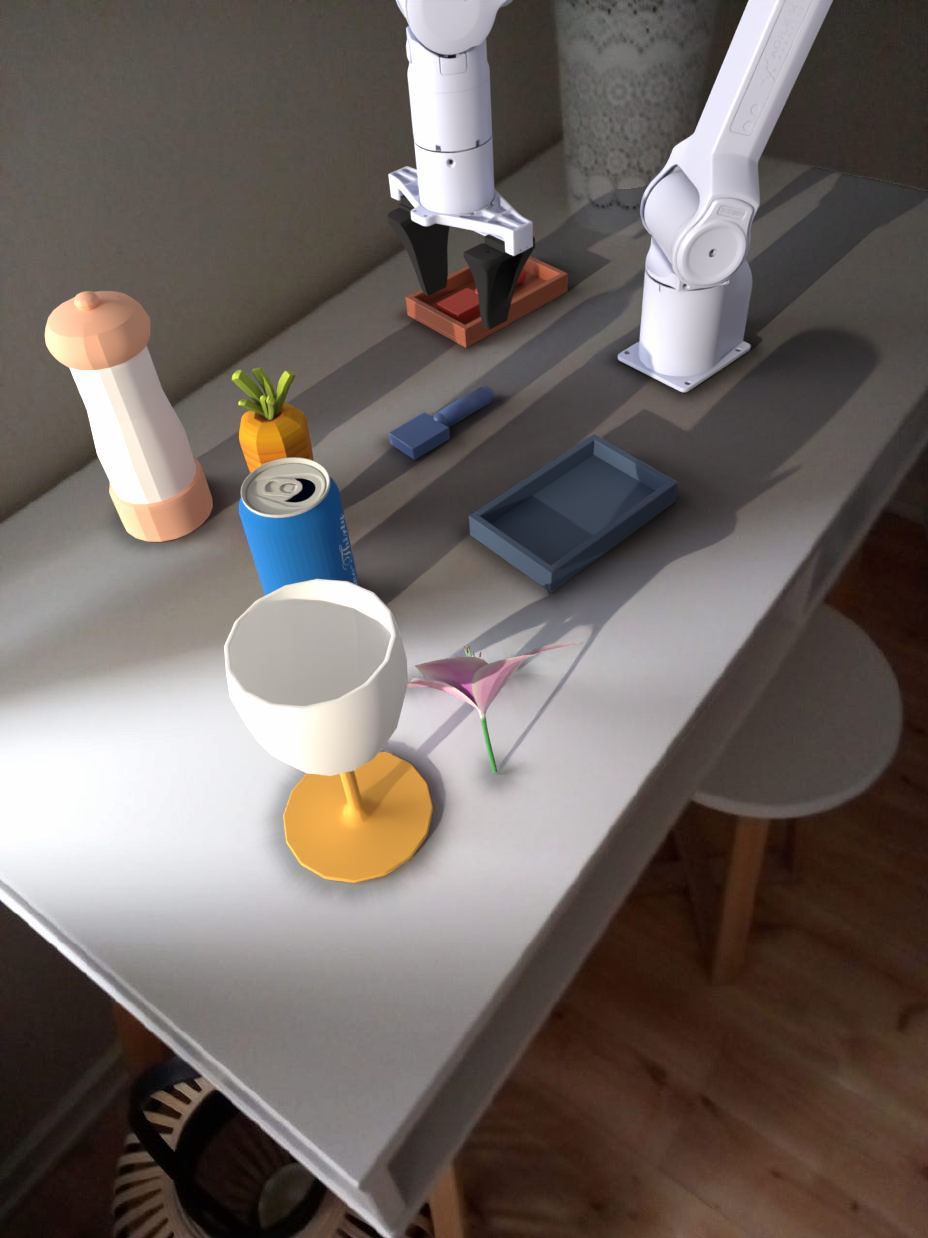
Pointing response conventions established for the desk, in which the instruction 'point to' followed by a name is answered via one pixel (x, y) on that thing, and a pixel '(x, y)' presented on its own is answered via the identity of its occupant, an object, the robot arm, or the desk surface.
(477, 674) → the lily
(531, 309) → the red tray
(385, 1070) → the desk surface
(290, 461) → the beverage can
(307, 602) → the cup
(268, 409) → the carrot
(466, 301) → the red handled block
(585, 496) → the blue tray
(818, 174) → the desk surface
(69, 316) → the pepper shaker
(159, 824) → the desk surface
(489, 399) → the blue handled block
